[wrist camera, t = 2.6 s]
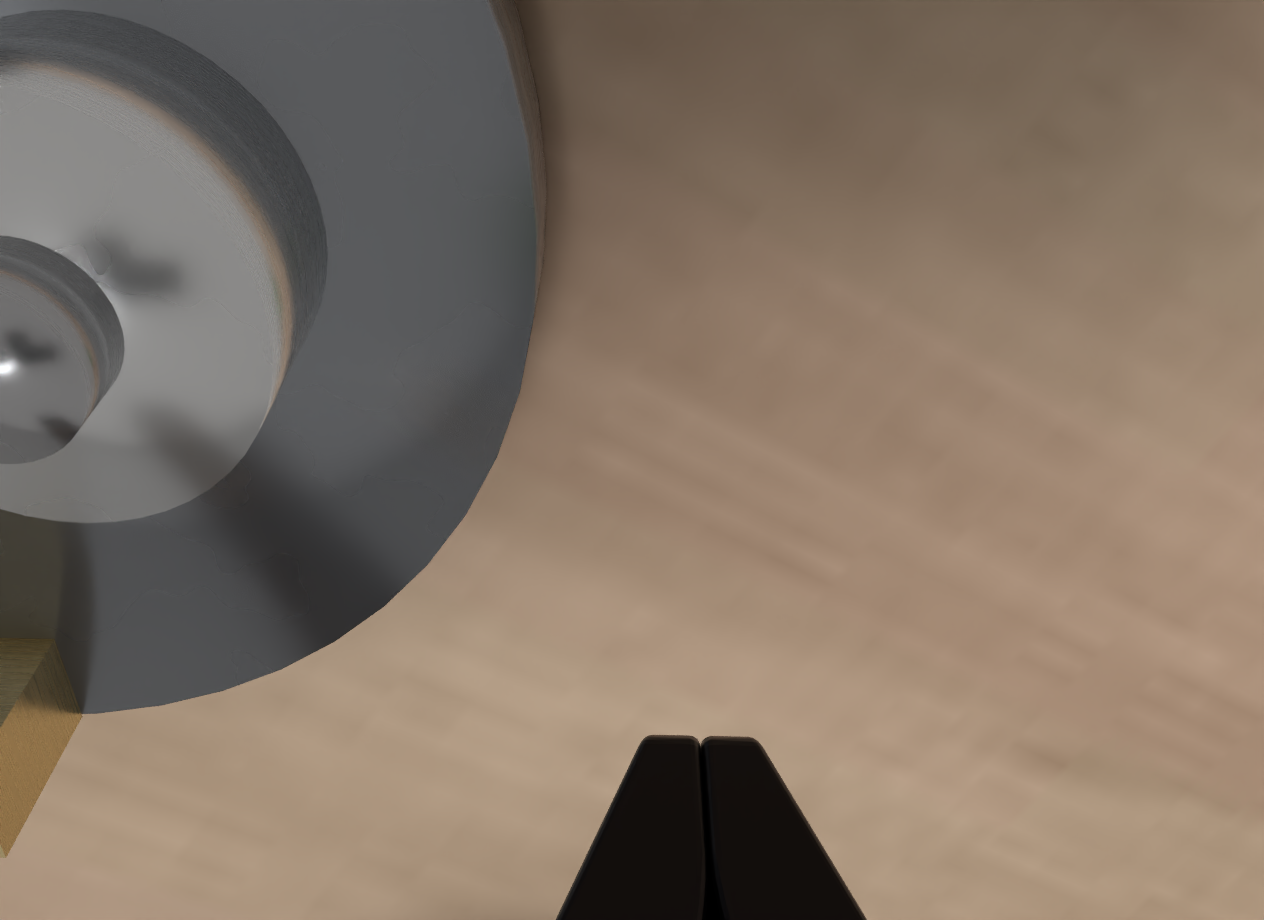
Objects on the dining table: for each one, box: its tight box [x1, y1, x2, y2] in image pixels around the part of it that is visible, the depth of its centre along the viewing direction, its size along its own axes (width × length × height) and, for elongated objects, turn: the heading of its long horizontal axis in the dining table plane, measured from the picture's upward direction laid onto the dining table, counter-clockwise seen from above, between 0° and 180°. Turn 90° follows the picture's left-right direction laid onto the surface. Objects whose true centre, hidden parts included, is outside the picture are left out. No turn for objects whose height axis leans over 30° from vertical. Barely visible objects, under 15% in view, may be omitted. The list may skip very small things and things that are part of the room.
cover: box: [0, 9, 328, 523], centre depth 15 cm, size 6×6×4 cm
